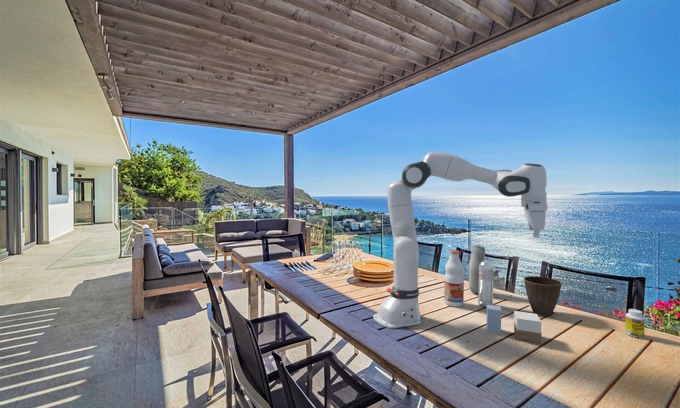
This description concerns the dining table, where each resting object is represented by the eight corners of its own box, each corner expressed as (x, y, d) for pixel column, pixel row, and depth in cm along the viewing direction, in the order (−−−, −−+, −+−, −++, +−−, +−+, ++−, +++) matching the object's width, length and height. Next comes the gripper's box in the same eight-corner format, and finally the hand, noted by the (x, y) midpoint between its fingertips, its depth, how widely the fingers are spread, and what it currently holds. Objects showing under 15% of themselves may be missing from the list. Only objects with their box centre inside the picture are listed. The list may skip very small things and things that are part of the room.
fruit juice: (453, 299, 160) (454, 248, 158) (467, 305, 151) (468, 251, 150) (440, 302, 156) (440, 250, 155) (453, 308, 147) (454, 253, 146)
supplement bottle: (630, 337, 117) (631, 312, 117) (621, 331, 122) (622, 307, 122) (647, 339, 115) (648, 314, 115) (638, 333, 121) (639, 308, 120)
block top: (541, 333, 112) (541, 321, 112) (516, 329, 115) (517, 318, 115) (536, 324, 119) (536, 314, 119) (513, 321, 123) (514, 310, 122)
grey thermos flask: (488, 292, 171) (488, 244, 170) (486, 297, 162) (486, 247, 161) (469, 289, 176) (470, 243, 175) (467, 294, 167) (467, 245, 166)
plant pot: (524, 315, 138) (525, 282, 137) (522, 305, 151) (522, 274, 151) (564, 322, 131) (564, 287, 130) (557, 310, 144) (558, 278, 144)
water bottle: (494, 308, 147) (495, 259, 146) (480, 307, 149) (481, 258, 148) (490, 303, 154) (491, 256, 153) (476, 302, 155) (477, 255, 154)
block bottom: (541, 344, 112) (541, 333, 112) (517, 340, 115) (517, 329, 115) (536, 335, 120) (536, 324, 119) (514, 331, 123) (514, 321, 123)
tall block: (500, 334, 120) (501, 310, 120) (487, 332, 122) (487, 308, 122) (499, 329, 125) (499, 306, 124) (486, 327, 127) (486, 304, 126)
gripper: (520, 197, 133) (520, 226, 136) (529, 208, 115) (529, 241, 117) (536, 196, 130) (536, 225, 133) (548, 207, 112) (548, 241, 115)
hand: (533, 233), depth 125 cm, fingers open, 8 cm apart
